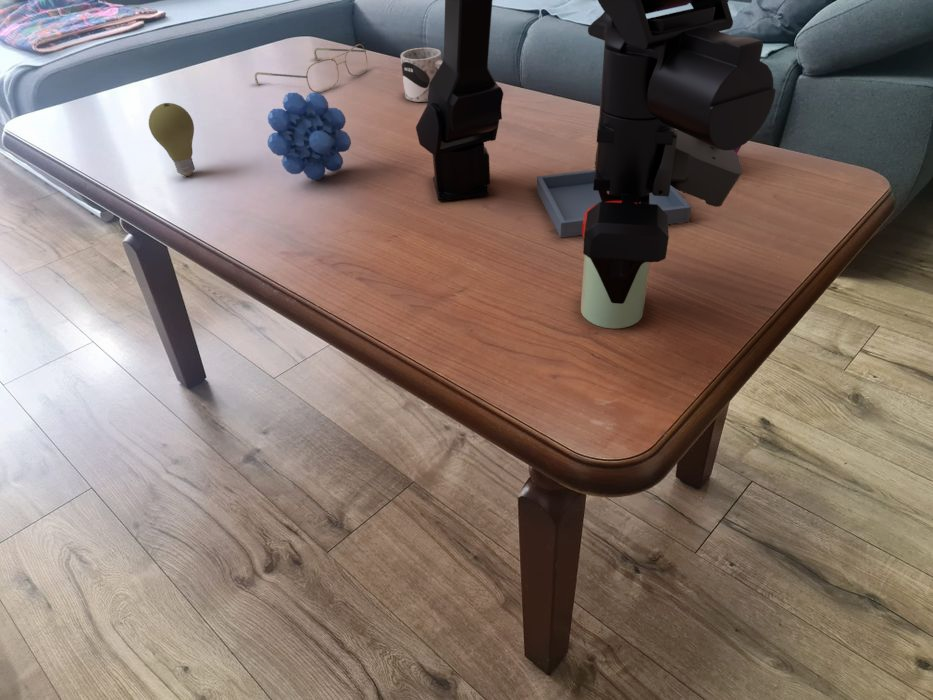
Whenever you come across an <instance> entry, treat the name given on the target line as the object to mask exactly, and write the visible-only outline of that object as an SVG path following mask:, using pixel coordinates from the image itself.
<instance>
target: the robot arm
mask: <svg viewBox="0 0 933 700" xmlns="http://www.w3.org/2000/svg"><path fill="white" fill-rule="evenodd" d="M493 1H494V0H444V28H443V30H444V31H443V33H444V35H443V59H442V61H443V62H442V64H441V65H440V67H439V69H438V70H437V72H436V73H435V75H434V77H433V78H432V80H431V82H430V84H429V91H428V101H426V102H427V103H426V106H425V108H424V110H423V112H422V114H421V116H420V118H419V120H418V122H417V124H416V126H415V130H416V134H417V135H416V136H417V138H418V143H419V145H420V146H421V147H422V148H424V149H425V150H426V151H428V152H429V153H430V154H431V155H432V164H433V165H432V166H433V175H434V176H433V177H432V181H433V186H434V189H435V195H436V198H437V201H439V202H445V201H455V200H463V199H464V200H465V199H472V198H481V197H488V196H489V195H490V192H489V188H488V186H490V184H491V169H490V168H491V167H490V155H489V152H488V148H487V147H486V146H485V143H486V142H493V141H496V139H497V135H498V129H499V124H500V120H502V119H503V116H502V105H503V98H504V91H503V89H502V87H501V86H499V85H498V83H497V82H496V80H495V78H494V76H493V74H492V73H491V71H490V69H489V54H490V53H489V51H490V39H491V28H492V27H491V26H492V15H493V14H492V13H493ZM597 1H598V4H599V5H600V7H601V9H602V11H604V12H603V13H602V14H601V15H600V16H599V17H598V18H596V19H595V20H594V21H593V22H592V23H590V25H589V26H588V27H587V33H588V35H589V36H591V37H593V38H596V39H599V40H601V41H603V42H604V46H603V47H604V49H603V58H602V59H603V60H602V61H603V62H602V73H601V91H600V103H599V116H598V123H597V132H596V152H595V161H594V162H595V163H594V170H595V176H594V187H593V190H596V191H599V195H600V198H601V201H602V202H599V203H598V204H597V205H595V206H594V207H593V208H592V209H590V210H589V211H588V212H587V219H586V226H585V233H584V238H583V249H582V250H583V251H582V254H583V255H584V254H585V255H586V256H587V257H589V258H590V259H591V261H592V263H593V264H594V266H595V268H596V270H597V272H598V274H599V277H600V279H601V281H602V283H603V285H604V287H605V290H606V292H607V294H608V296H609V298H610V301H611V302H612V303H617V304H623V303H624V302H625V300H626V297H627V295H628V293H629V291H630V288H631V286H632V284H633V281H634V279H635V277H636V275H637V272H638V270H639V268H640V266H641V265H642V264H643V263H645V262H650V263H659V262H661V261H663V260H666V259H667V252H668V245H669V238H670V235H669V234H670V233H669V232H670V231H669V230H670V229H669V224H668V215H667V214H666V213H665V212H664V211H663V210H662V209H661V208H660V207H659V206H658V205H657V204H650V193H653V195H654V196H669V192H670V185H671V186H672V187H673V188H675V189H676V190H677V191H678V192H681V193H684V194H686V195H690V196H692V197H695V198H697V199H700V200H702V201H704V202H705V204H706V205H708V206H712V207H715V208H717V207H721V206H722V205H723V203H724V202H725V200H726V199H727V197H728V195H729V194H730V193H731V191H732V189H733V188H734V187H735V185H736V183H737V181H738V180H739V179H740V177H741V176H742V173H743V169H742V165H741V160H740V157H739V154H738V153H736V152H735V151H733V150H734V149H737V148H739V147H740V146H741V147H742V146H744V145H746V144H747V143H748V142H749V141H750V140H752V139H753V138H754V137H755V136H756V134H757V133H758V132H759V131H760V129H761V128H762V127H763V126H764V124H765V122H766V120H767V118H768V117H769V114H770V113H771V111H772V108H773V104H774V101H775V97H776V92H777V90H776V88H774V87H775V86H774V77H773V73H772V70H771V68H770V67H769V65H768V64H766V63H765V62H763V61H761V58H762V53H763V48H764V43H763V40H761V39H757V38H754V37H750V36H735V35H732V34H730V33H729V34H728V33H725V32H723V31H727V30H730V29H732V27H733V25H734V19H733V16H732V13H731V9H730V6H729V0H597ZM689 4H690V5H691V7H692V8H689V9H684V10H680V11H676V12H671V13H667V14H663V15H657V16H653V17H647V15H648V14H652V13H656V12H661V11H666V10H670V9H675V8H680V7H684V6H687V5H689ZM607 201H621V203H614V202H607ZM635 202H636V203H637V204H636V203H635Z"/></svg>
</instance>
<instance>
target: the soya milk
mask: <svg viewBox="0 0 933 700" xmlns="http://www.w3.org/2000/svg"><path fill="white" fill-rule="evenodd" d="M442 62H443V59H442V51H441V50H440V49H438V48H435V47H434V48H433V47H416V48H410V49H407V50H405V51H403V52H401V53H400V64H401V71H402V81H403V90H404V98H405V99H406V100H408V101H411V102H416V103H419V102H420V103H422V102H423V103H425V102H427V101H428V91H429V84H430V82H431V80H432V78H433V77H434V75H435V73H436V72H437V70H438V69H439V67H440V65H441V64H442Z"/></svg>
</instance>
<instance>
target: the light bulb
mask: <svg viewBox="0 0 933 700" xmlns="http://www.w3.org/2000/svg"><path fill="white" fill-rule="evenodd" d="M148 128H149V131H150V133H151V135H152V137H153V138H154V140H155V141H156V142H157V143H158V144H159V145H160V146H161V147H162V148H163V149H164V150H165V151H166V153H167V154H168V156H169V158H170V159H171V161H173V163H174V166H175V169H176V172H177V174H180V175H182V176H184V177H189V176H191V175H192V174H193V172H194V171H195V170H196V167H195V164H194V161H193V158H192V156H193V153H194V152H193V140H194V134H195V124H194V121H193V117H192V116H191V115H190V113H189V112H188V110H187V109H185V108H184V107H182V106H181V105H179V104H176V103H173V102H163V103H161V104H159V105H156V106H155V107H154V108H153V109H152V110H151V112H150V114H149V118H148Z"/></svg>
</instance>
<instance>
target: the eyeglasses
mask: <svg viewBox="0 0 933 700" xmlns="http://www.w3.org/2000/svg"><path fill="white" fill-rule="evenodd" d="M358 46H361V47H362V49H355V48H356V47H358ZM317 51H331V52H344V53H341V54H339V55H337V56H334V57H331V58H326V59H322V60H319V59H318V55H317ZM350 52H351V53H352V52H357V53H364V55H365V62H366V63H365V64H366V65H365V69H364V70H363V71H362V72H361V73H358V74H352V73H351V71H350V70H349V68H348V66H347V59H346V57H347V55H348V53H350ZM313 55H314V60H316V61H315V62H313V63H312V64H310V65H309V66H308V68H307V69H306V72H305V75H295V74H282V73H272V72H260V71H259V72H255V74H254V81H255V85H256V86H259V85H260V83H259V81H258V78H257V77H258V75H261V76H273V77H285V78H286V77H287V78H299V79H300V78H301V79H306V84H307V86H308V88H309V89H310V91H311V92H312V93H320V94H322V93H324V92H327V91H330V90H331V89H332V88H334V87H335V86H336V85H337V83H338V81H339V75H340V74H339V66H338V65H340V64H344V66H345V67H346V70H347V72H348V74H349V75H350V76H352V77H358V76H361V75H363V74H364V73H365V72H366V71H367V68H368V57H367V50H366V49H365V47H364V45H363V44H361V43H358V44H356V45H354V46H352V47H351V48H349V49H348V48H345V49H344V48H328V47H327V48H326V47H316V48H314V51H313ZM343 55H344V60H343V61H341V62H339V63H337V61H336V60H335V59H336V58H339V57H341V56H343ZM318 60H319V61H318ZM325 61H333V62H334V63H335V67H336V72H337V73H336V75H337V77H336V81H335V83H334V84H333V85H332V86H330V87H328V88H327V89H324V90H321V91H315V90H314V89H312V88H311V86H310V83H309V79H308V77H309V76H308V73H309V70H310V69H311V67H313V66H314V65H316V64H319V63H322V62H325Z"/></svg>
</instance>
